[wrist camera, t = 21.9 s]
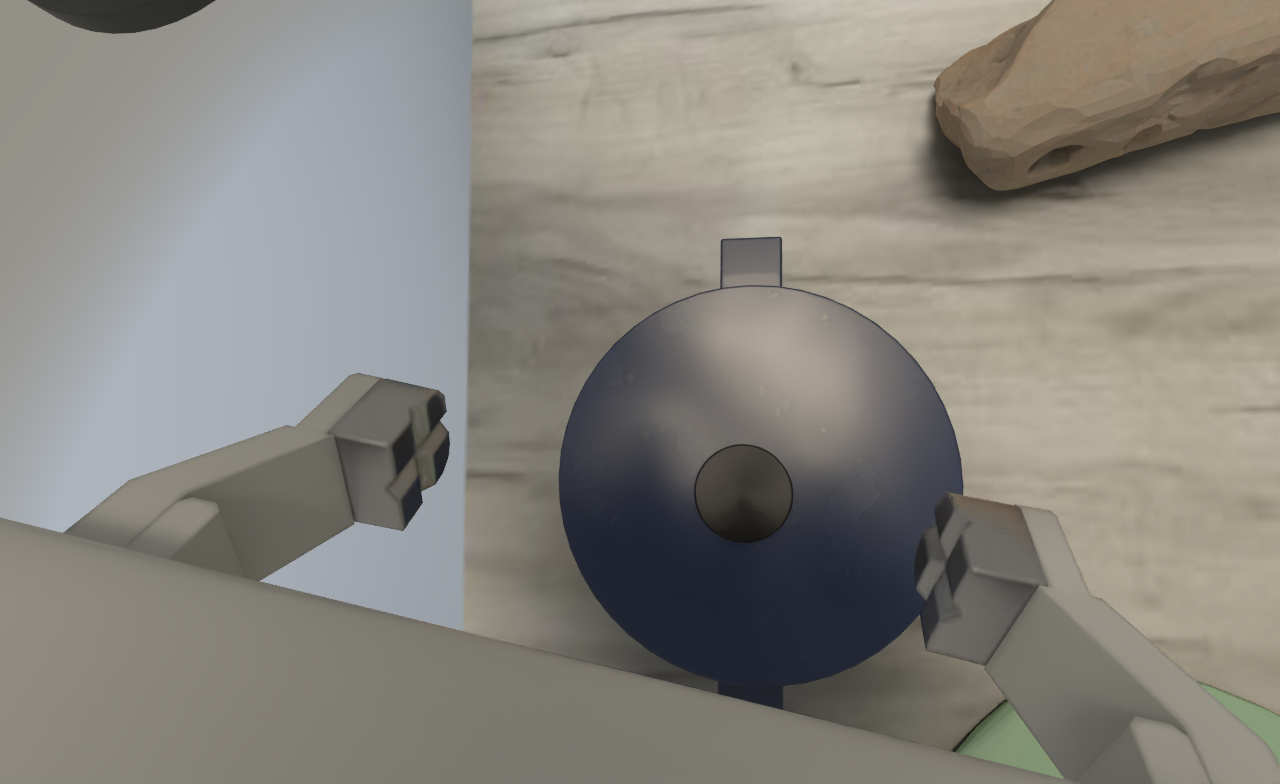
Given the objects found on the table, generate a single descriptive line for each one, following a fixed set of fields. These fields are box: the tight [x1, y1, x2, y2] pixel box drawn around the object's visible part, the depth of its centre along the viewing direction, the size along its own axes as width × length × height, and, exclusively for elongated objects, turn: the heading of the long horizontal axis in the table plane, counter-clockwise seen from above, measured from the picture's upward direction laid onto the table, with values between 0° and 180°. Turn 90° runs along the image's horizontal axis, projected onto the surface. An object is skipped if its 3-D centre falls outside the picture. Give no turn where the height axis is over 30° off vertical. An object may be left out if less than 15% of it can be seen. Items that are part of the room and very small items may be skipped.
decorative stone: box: [933, 0, 1280, 191], centre depth 29 cm, size 20×8×10 cm, turn 104°
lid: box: [559, 285, 963, 687], centre depth 22 cm, size 15×15×8 cm
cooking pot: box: [718, 237, 783, 710], centre depth 30 cm, size 14×19×10 cm
